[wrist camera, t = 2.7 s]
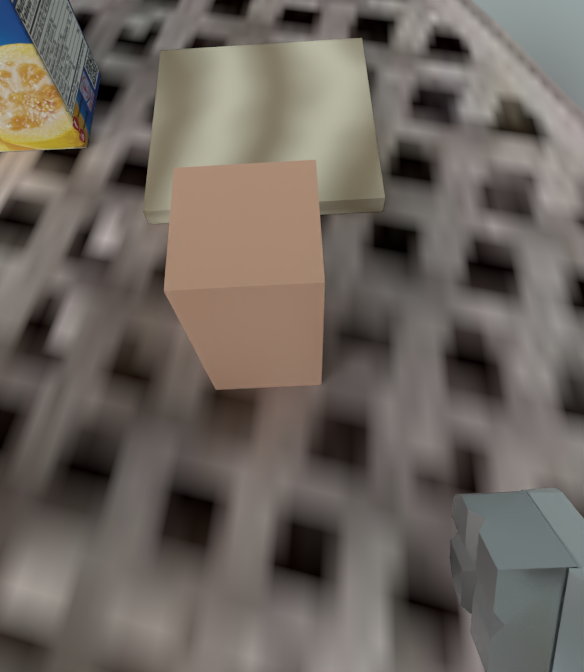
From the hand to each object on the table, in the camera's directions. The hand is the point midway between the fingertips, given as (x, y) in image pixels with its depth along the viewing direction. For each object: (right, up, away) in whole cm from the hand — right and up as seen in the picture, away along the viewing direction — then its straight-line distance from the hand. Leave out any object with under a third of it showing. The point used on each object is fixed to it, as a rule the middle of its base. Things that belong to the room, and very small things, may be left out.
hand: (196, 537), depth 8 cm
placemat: (0, +17, +26) cm, 31 cm away
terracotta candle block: (0, +3, +19) cm, 19 cm away
